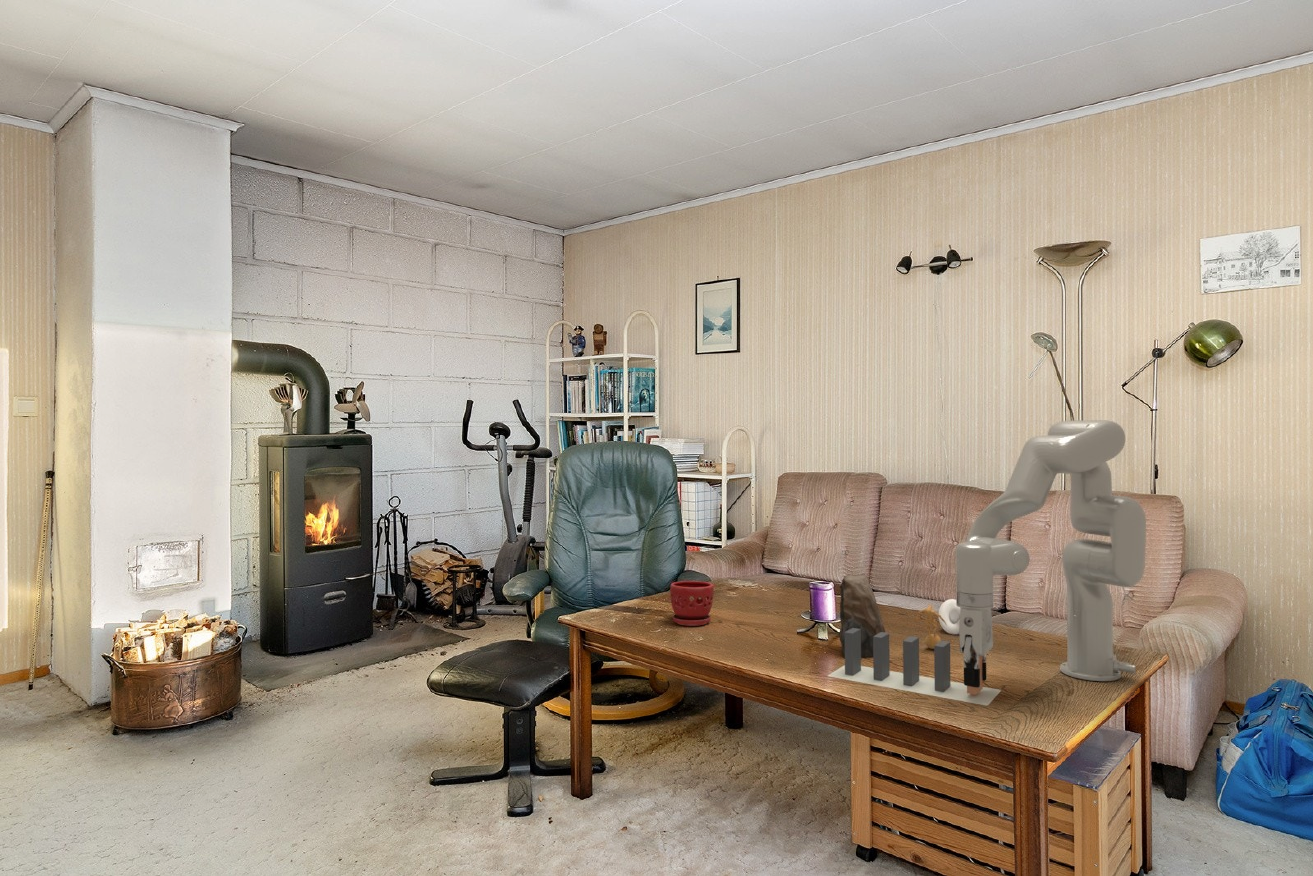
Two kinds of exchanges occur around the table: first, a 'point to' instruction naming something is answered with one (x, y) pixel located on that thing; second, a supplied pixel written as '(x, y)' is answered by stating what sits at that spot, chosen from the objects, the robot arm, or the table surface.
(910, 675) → the slate domino
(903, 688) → the felt mat
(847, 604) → the tall jagged boulder
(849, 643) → the slate domino
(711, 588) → the plant pot
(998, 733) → the table surface
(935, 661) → the slate domino
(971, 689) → the rust domino
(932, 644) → the figurine
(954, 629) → the white knot sculpture
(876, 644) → the slate domino
